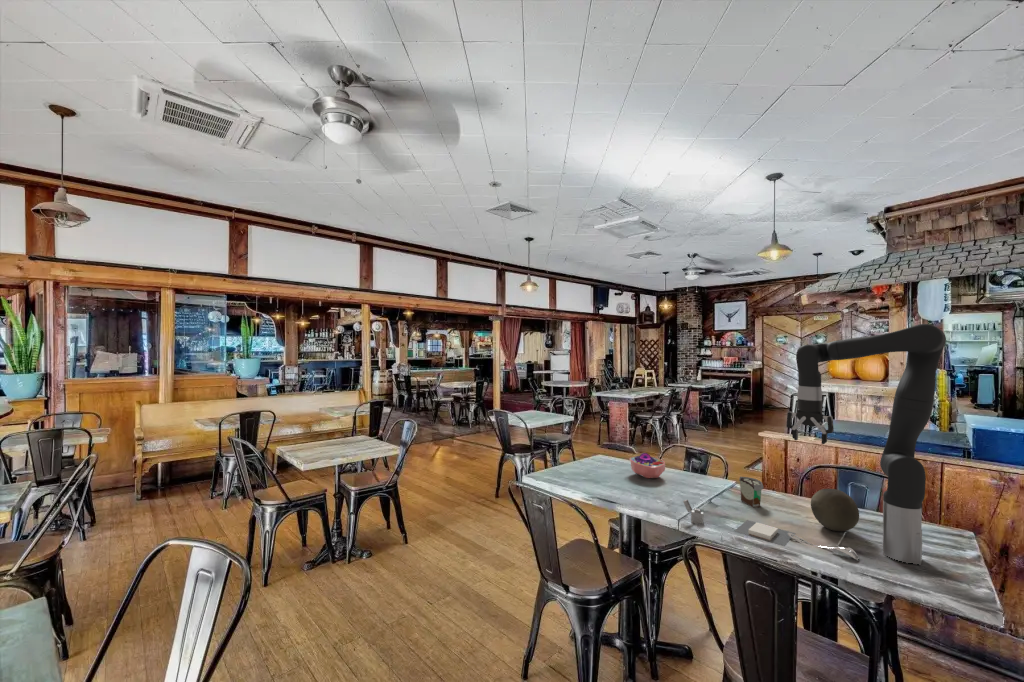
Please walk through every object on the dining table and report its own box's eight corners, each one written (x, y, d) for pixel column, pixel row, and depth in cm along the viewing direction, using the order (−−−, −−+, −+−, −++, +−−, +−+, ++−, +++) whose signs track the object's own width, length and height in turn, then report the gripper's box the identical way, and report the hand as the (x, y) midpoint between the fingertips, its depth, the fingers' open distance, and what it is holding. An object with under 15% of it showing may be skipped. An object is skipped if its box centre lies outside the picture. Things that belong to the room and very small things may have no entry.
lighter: (703, 523, 165) (703, 502, 165) (702, 525, 163) (702, 504, 163) (684, 519, 169) (684, 498, 169) (683, 520, 168) (683, 499, 168)
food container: (769, 509, 178) (769, 485, 178) (754, 509, 178) (755, 485, 178) (752, 498, 191) (753, 476, 191) (739, 498, 191) (739, 476, 191)
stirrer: (785, 529, 151) (790, 525, 154) (785, 539, 151) (789, 535, 154) (857, 554, 136) (861, 549, 139) (856, 565, 136) (860, 560, 139)
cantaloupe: (816, 519, 169) (816, 481, 169) (862, 531, 158) (862, 490, 158) (806, 530, 159) (806, 489, 159) (854, 543, 149) (854, 500, 149)
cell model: (635, 483, 212) (635, 459, 212) (626, 470, 232) (626, 449, 232) (670, 483, 211) (670, 460, 211) (658, 471, 231) (658, 449, 231)
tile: (778, 528, 156) (770, 536, 150) (778, 532, 156) (770, 540, 150) (756, 522, 161) (748, 529, 155) (756, 526, 161) (748, 534, 155)
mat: (795, 534, 156) (795, 533, 156) (784, 547, 146) (784, 546, 146) (747, 521, 167) (747, 519, 167) (734, 532, 157) (734, 530, 157)
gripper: (835, 399, 158) (834, 443, 159) (790, 395, 169) (789, 437, 169) (831, 401, 153) (830, 447, 153) (784, 397, 163) (784, 440, 164)
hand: (809, 441), depth 161 cm, fingers open, 8 cm apart
